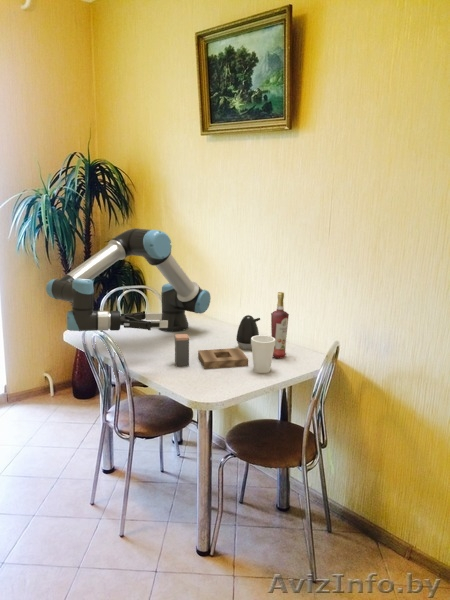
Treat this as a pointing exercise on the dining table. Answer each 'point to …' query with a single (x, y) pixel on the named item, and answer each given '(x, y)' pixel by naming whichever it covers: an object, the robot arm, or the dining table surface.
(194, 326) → the dining table surface
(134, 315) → the robot arm
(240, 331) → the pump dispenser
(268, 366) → the foam cup
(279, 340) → the liquor
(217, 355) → the socket plate
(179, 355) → the grey tall block
